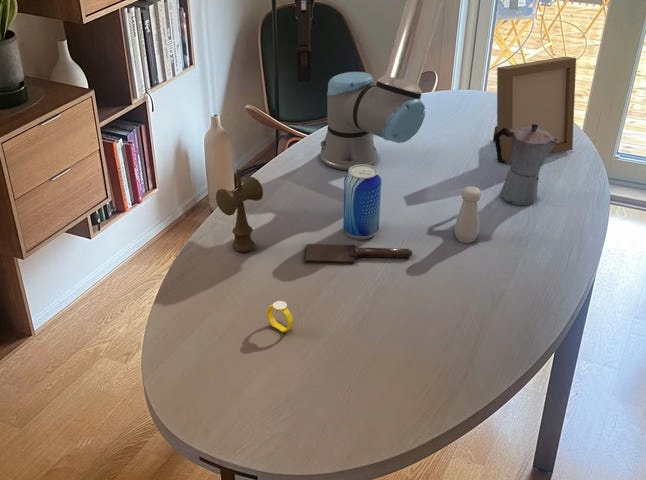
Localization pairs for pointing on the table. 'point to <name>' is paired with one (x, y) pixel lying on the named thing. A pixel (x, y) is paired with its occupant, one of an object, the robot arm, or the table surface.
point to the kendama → (240, 209)
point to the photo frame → (537, 100)
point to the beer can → (362, 201)
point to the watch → (282, 307)
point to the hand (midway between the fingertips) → (305, 69)
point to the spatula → (348, 253)
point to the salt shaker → (468, 216)
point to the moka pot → (524, 162)
